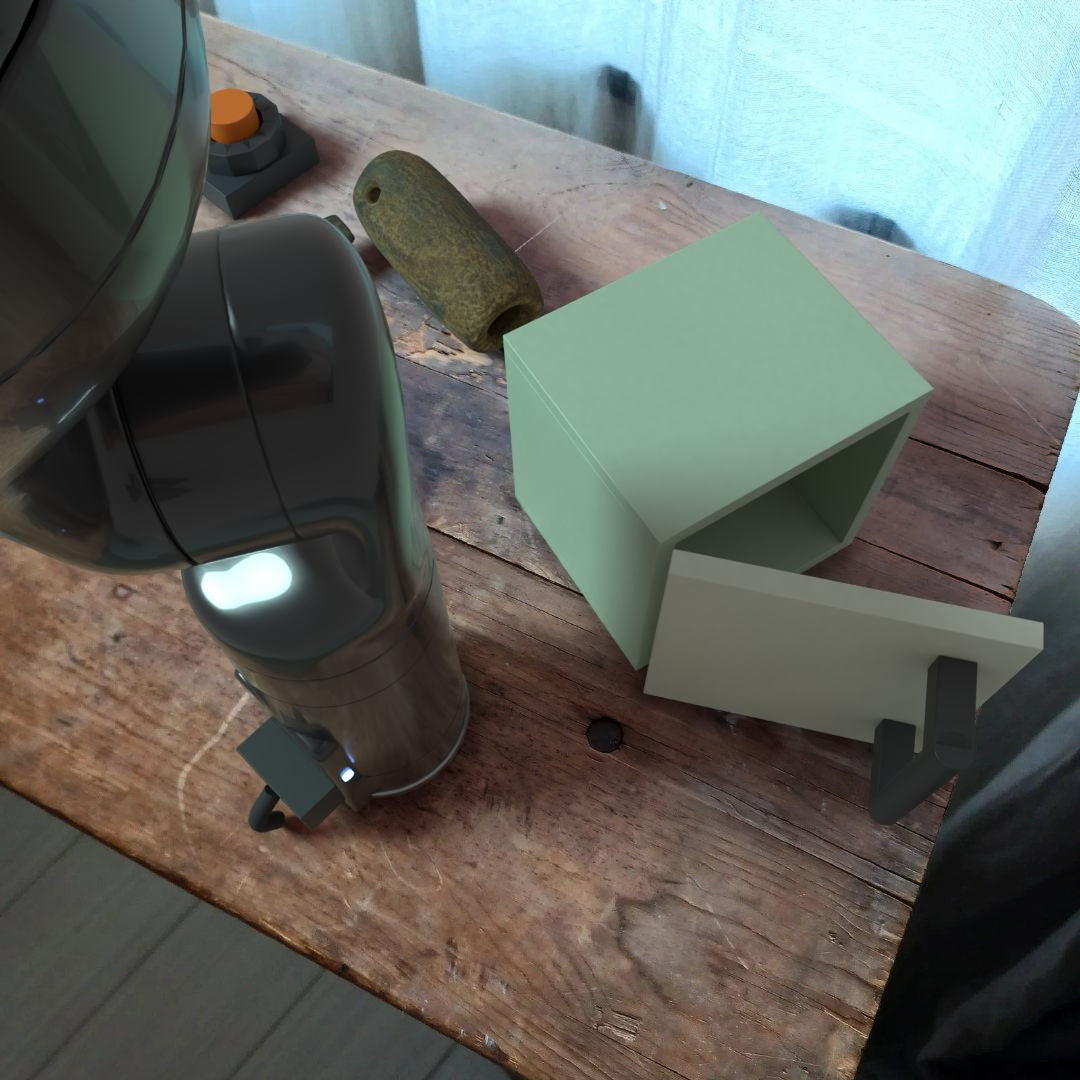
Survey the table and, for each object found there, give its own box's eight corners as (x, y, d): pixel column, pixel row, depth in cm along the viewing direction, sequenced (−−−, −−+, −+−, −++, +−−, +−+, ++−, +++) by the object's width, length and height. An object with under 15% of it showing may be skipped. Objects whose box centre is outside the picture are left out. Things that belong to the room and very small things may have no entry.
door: (920, 847, 51) (1043, 766, 38) (625, 779, 53) (646, 680, 40) (927, 733, 54) (1044, 622, 41) (646, 673, 56) (673, 548, 43)
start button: (229, 152, 70) (222, 131, 69) (197, 127, 72) (189, 106, 70) (270, 125, 72) (263, 104, 70) (238, 102, 73) (231, 80, 71)
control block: (234, 221, 72) (217, 176, 69) (174, 173, 75) (155, 128, 71) (320, 162, 75) (308, 116, 71) (260, 117, 77) (246, 71, 74)
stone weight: (343, 249, 71) (324, 173, 65) (424, 201, 73) (412, 123, 67) (478, 382, 65) (470, 312, 59) (561, 325, 67) (561, 253, 61)
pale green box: (851, 543, 59) (935, 388, 46) (636, 671, 56) (659, 543, 43) (719, 389, 65) (760, 210, 51) (515, 497, 61) (502, 335, 48)
